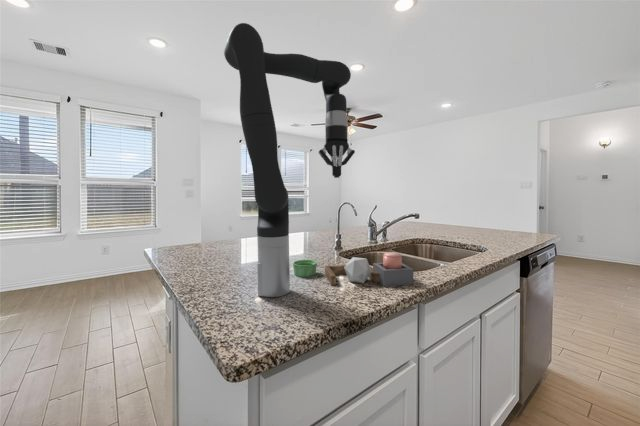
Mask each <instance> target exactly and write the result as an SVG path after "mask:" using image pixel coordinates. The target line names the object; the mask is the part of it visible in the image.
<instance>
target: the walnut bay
mask: <svg viewBox="0 0 640 426" xmlns="http://www.w3.org/2000/svg"><path fill="white" fill-rule="evenodd" d="M345 266H346V264H337V265H335V264H334V265H333V264H332V265H326V266H325V267H324V276H325V277H326V279H327V280H328V282H329V283H330V286H337V275H347V274H346V272H345V269H344V267H345ZM370 268H371V271H372V273H371V275H370V276H369V277H368V278H369V279H370V280H371V281H372V282H373V283H375V284H377V283H379V273H378V272H376V271H375V270H374V269H373V267H371V266H370ZM379 284H380V283H379Z"/></svg>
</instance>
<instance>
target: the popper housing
mask: <svg viewBox="0 0 640 426" xmlns="http://www.w3.org/2000/svg"><path fill="white" fill-rule="evenodd" d="M372 269H374V270H375V271H376V272H378V273H379V284H380V285H381V286H382V287H395V286H410V284H413V285H414V269H413V268H412V267H410V266H408V265H407V264H405V263H403V262H402V268H401V269H385V268H384V267H383V262H374V263H372Z"/></svg>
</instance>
